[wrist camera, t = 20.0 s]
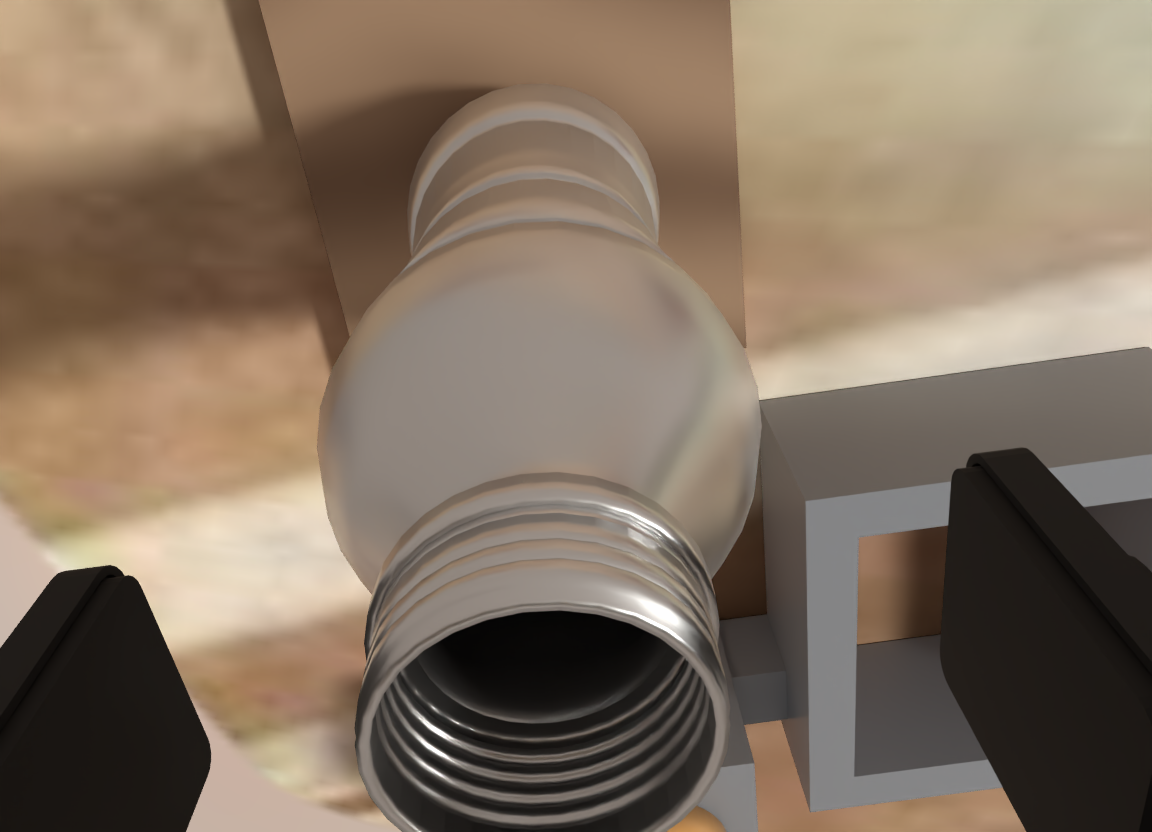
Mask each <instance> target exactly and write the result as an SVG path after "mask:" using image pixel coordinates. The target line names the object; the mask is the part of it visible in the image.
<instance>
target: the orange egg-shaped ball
mask: <svg viewBox="0 0 1152 832" xmlns="http://www.w3.org/2000/svg"><path fill="white" fill-rule="evenodd" d="M666 832H726V829H725V828H724V826H723V825H722V823H721V822H720V821H719V820H718V819H717V818H716V817H715V816H714V815H713V814H711V813H710V812H708V811H707V810H705V809H703V808H701V807H698V806H696V807H695V808H694V809H693V810H692V811H691V812H690V813H689V814H688V815H687V816H686V817H685V818H684V819H683V820H682V821H681V822H679V823H678V824H676V825H675V826H673V827H672V828H671V829H669V830H668V831H666Z"/></svg>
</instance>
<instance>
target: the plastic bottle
mask: <svg viewBox="0 0 1152 832" xmlns="http://www.w3.org/2000/svg"><path fill="white" fill-rule="evenodd" d="M659 216H660V213H659V195H658V189H657V182H656V176H655V173H654V170H653V167H652V165H651V162H650V159H649V156H648V154H647V152H646V150H645V148H644V147H643V145H642V143H641V142H640V140H639V139H638V137H637V135H636V134H635V132H634V131H633V130H632V128H631V127H630V126H629V125H628V124H627V123H626V122H625V121H624V120H623V119H622V118H621V117H620V116H619V115H618V114H617V113H616V112H615V111H613V110H612V109H611V108H609V107H608V106H606V105H605V104H603V103H602V102H600V101H599V100H597V99H596V98H594V97H592V96H589V95H587V94H584V93H582V92H579V91H577V90H574V89H572V88H568V87H562V86H557V85H551V84H545V83H543V84H518V85H514V86H510V87H506V88H502V89H498V90H494V91H491V92H489V93H487V94H485V95H483V96H481V97H479V98H477V99H475V100H473V101H471V102H469V103H468V104H466V105H465V106H464V107H462V108H461V109H460V110H459V111H457V112H456V113H455V114H453V115H452V116H451V117H450V118H448V119H447V120H446V122H445V123H444V124H443V125H442V126H441V127H440V129H439V130H438V131H437V132H436V133H435V134H434V136H433V137H432V138H431V139H430V141H429V143H428V144H427V146H426V148H425V150H424V152H423V153H422V155H421V157H420V159H419V161H418V163H417V166H416V169H415V172H414V175H413V179H412V182H411V185H410V191H409V200H408V209H407V218H408V234H409V246H410V253H411V256H412V257H411V259H410V261H409V262H408V264H407V266H406V267H405V268H404V269H403V270H402V272H401V273H400V274H399V275H398V276H397V277H396V278H394V280H393V281H392V282H391V283H390V284H389V285H388V286H387V287H386V288H385V290H384V291H383V292H382V293H381V294H380V295H379V296H378V297H377V298H376V300H375V301H374V302H373V303H372V304H371V305H370V306H369V307H368V308H367V310H366V311H365V313H364V315H363V317H362V318H361V320H360V322H359V323H358V325H357V326H356V328H355V329H354V331H353V333H352V334H351V336H350V338H349V340H348V341H347V343H346V345H345V347H344V348H343V350H342V352H341V354H340V355H339V357H338V359H337V361H336V362H335V364H334V366H333V368H332V370H331V373H330V377H329V380H328V383H327V386H326V390H325V393H324V396H323V399H322V402H321V406H320V413H319V426H318V439H317V451H318V458H319V465H320V471H321V478H322V485H323V491H324V497H325V503H326V509H327V515H328V519H329V521H330V524H331V526H332V529H333V531H334V534H335V537H336V539H337V542H338V544H339V547H340V549H341V552H342V553H343V555H344V556H345V558H346V559H347V561H348V562H349V564H350V565H351V567H352V568H353V570H354V571H355V573H356V574H357V576H358V577H359V579H360V580H361V582H362V583H363V584H364V585H365V587H366V588H367V589H368V590H369V592H370V593H371V594H372V597H371V602H370V606H369V611H368V615H367V623H366V631H365V640H364V645H365V653H366V660H367V664H366V668H365V672H364V677H363V682H362V686H361V690H360V694H359V698H358V705H357V713H356V722H355V733H356V741H355V749H356V756H357V762H358V769H359V773H360V775H361V778H362V780H363V782H364V784H365V787H366V789H367V791H368V794H369V796H370V797H371V799H372V800H373V801H374V803H375V804H376V805H377V807H378V808H379V809H380V810H381V812H382V813H383V814H384V816H385V817H386V818H387V819H388V820H389V821H390V822H391V823H393V824H394V825H395V826H396V827H397V828H398V829H400V830H401V831H402V832H666V831H668V830H669V829H671V828H672V827H673V826H675V825H676V824H678V823H679V822H681V821H682V820H683V819H684V818H685V817H686V816H687V815H688V814H689V813H690V812H691V811H692V810H693V809H694V808H695V807H696V806H697V805H698V804H699V803H700V802H701V801H702V799H703V798H704V796H705V795H706V793H707V792H708V790H709V789H710V787H711V786H712V784H713V783H714V781H715V780H716V778H717V777H718V774H719V771H720V769H721V766H722V764H723V761H724V758H725V756H726V753H727V749H728V740H729V732H730V719H729V714H730V702H729V696H728V689H727V683H726V678H725V674H724V670H723V666H722V662H721V658H720V654H719V650H718V637H719V627H720V622H719V615H718V609H717V602H716V596H715V592H714V588H713V584H712V580H711V579H712V578H713V577H714V575H715V574H716V572H717V571H718V570H719V568H720V567H721V566H722V564H723V563H724V561H725V559H726V558H727V556H728V554H729V553H730V551H731V549H732V547H733V546H734V544H735V542H736V541H737V539H738V537H739V536H740V534H741V532H742V530H743V527H744V524H745V521H746V518H747V515H748V512H749V510H750V507H751V504H752V501H753V498H754V492H755V483H756V475H757V466H758V457H759V448H760V438H761V428H762V423H761V414H760V405H759V395H758V387H757V384H756V381H755V378H754V375H753V372H752V370H751V367H750V364H749V361H748V358H747V355H746V352H745V349H744V348H743V346H742V345H741V343H740V341H739V340H738V338H737V337H736V335H735V334H734V332H733V330H732V329H731V327H730V326H729V324H728V322H727V321H726V319H725V318H724V316H723V315H722V313H721V312H720V311H719V309H718V308H717V307H716V306H715V304H714V303H713V301H712V300H711V298H710V297H709V295H708V294H707V293H706V292H705V291H704V290H703V289H702V288H701V287H700V286H699V285H698V284H697V283H696V282H695V281H694V280H693V279H692V278H691V277H690V276H689V275H688V274H687V273H686V272H685V271H684V270H683V269H682V268H681V267H680V266H679V265H677V264H676V263H675V262H674V261H673V260H672V259H671V258H670V257H669V256H668V255H666V254H665V253H664V252H663V251H662V250H661V248H660V247H659V245H658V237H659Z"/></svg>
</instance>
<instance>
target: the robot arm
mask: <svg viewBox="0 0 1152 832" xmlns="http://www.w3.org/2000/svg"><path fill="white" fill-rule="evenodd" d="M940 660H941V666H942V670H943V674H944V677H945V679H946V682H947V684H948V686H949V688H950V690H951V692H952V694H953V695H954V697H955V699H956V701H957V703H958V705H959V707H960V708H961V710H962V712H963V714H964V716H965V718H966V720H967V722H968V723H969V725H970V727H971V729H972V731H973V733H974V735H975V736H976V738H977V740H978V742H979V744H980V746H981V748H982V750H983V751H984V753H985V755H986V757H987V759H988V761H989V763H990V765H991V766H992V768H993V770H994V772H995V774H996V776H997V778H998V779H999V781H1000V783H1001V785H1002V787H1003V789H1004V791H1005V793H1006V794H1007V796H1008V798H1009V800H1010V802H1011V804H1012V806H1013V807H1014V809H1015V811H1016V813H1017V815H1018V817H1019V819H1020V821H1021V822H1022V824H1023V826H1024V828H1025V830H1026V832H1152V572H1151V571H1150V570H1149V569H1148V567H1147V566H1145V565H1144V564H1143V563H1142V562H1141V561H1139V560H1138V559H1137V558H1136V557H1133V556H1130V555H1128V554H1127V553H1126V552H1125V551H1124V550H1123V549H1122V548H1121V547H1120V546H1119V544H1118V543H1117V542H1116V541H1115V540H1114V539H1113V538H1112V537H1111V536H1110V535H1109V534H1108V533H1107V532H1106V531H1105V529H1104V528H1103V527H1102V526H1101V525H1100V524H1099V523H1098V522H1097V521H1096V520H1095V519H1094V518H1093V517H1092V516H1091V514H1090V513H1089V512H1088V511H1087V510H1086V509H1085V508H1084V507H1083V506H1082V505H1081V504H1080V503H1079V502H1078V500H1077V499H1076V498H1075V497H1074V496H1073V495H1072V494H1071V493H1070V492H1069V491H1068V490H1067V489H1066V488H1065V487H1064V485H1063V484H1062V483H1061V482H1060V481H1059V480H1058V479H1057V478H1056V477H1055V476H1054V475H1053V474H1052V473H1051V472H1050V470H1049V469H1048V468H1047V467H1046V466H1045V465H1044V464H1043V463H1042V462H1041V461H1040V460H1039V459H1038V458H1037V456H1036V455H1035V454H1034V453H1033V452H1032V451H1030V450H1029V449H1028V448H1023V447H1021V448H1013V449H1005V450H997V451H990V452H982V453H974V454H972V455H971V456H970V457H969V459H968V461H967V464H966V468H959V469H956V470H955V471H954V472H953V474H952V479H951V490H950V505H949V519H948V534H947V549H946V564H945V579H944V594H943V609H942V623H941V638H940ZM210 763H211V749H210V743H209V740H208V737H207V735H206V733H205V731H204V728H203V726H202V724H201V722H200V719H199V717H198V715H197V712H196V710H195V708H194V706H193V703H192V701H191V699H190V697H189V694H188V692H187V690H186V688H185V685H184V683H183V681H182V679H181V676H180V674H179V672H178V669H177V667H176V665H175V663H174V660H173V658H172V656H171V654H170V651H169V649H168V647H167V645H166V642H165V640H164V638H163V635H162V633H161V631H160V629H159V626H158V624H157V622H156V620H155V617H154V615H153V613H152V611H151V608H150V606H149V604H148V601H147V599H146V597H145V595H144V592H143V590H142V588H141V586H140V584H139V582H138V581H137V580H136V579H135V578H134V577H133V576H129V575H128V576H124V574H123V573H122V571H121V570H119V569H118V568H117V567H115V566H111V565H108V566H100V567H92V568H85V569H77V570H69V571H63V572H60V573H58V574H57V575H56V576H55V577H54V578H53V579H52V580H51V581H50V582H49V584H48V585H47V586H46V588H45V589H44V590H43V592H42V593H41V594H40V596H39V597H38V598H37V600H36V601H35V603H34V604H33V605H32V607H31V608H30V609H29V611H28V612H27V613H26V615H25V616H24V617H23V619H22V620H21V621H20V623H19V624H18V625H17V627H16V628H15V629H14V631H13V632H12V633H11V635H10V636H9V637H8V639H7V640H6V641H5V643H4V644H3V645H2V647H1V648H0V832H186V830H187V827H188V825H189V822H190V820H191V817H192V815H193V812H194V809H195V807H196V804H197V802H198V799H199V797H200V794H201V792H202V789H203V786H204V784H205V781H206V779H207V776H208V773H209V770H210Z"/></svg>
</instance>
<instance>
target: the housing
mask: <svg viewBox="0 0 1152 832" xmlns="http://www.w3.org/2000/svg"><path fill="white" fill-rule="evenodd" d="M759 405H760V414H761V423H762V428H761V438H760V456H761V480H762V504H763V528H764V552H765V576H766V600H767V614H766V615H758V616H751V617H743V618H736V619H728V620H721V621H719V622H720V627H719V637H718V650H719V654H720V658H721V662H722V666H723V670H724V674H725V678H726V683H727V689H728V696H729V702H730V714H729V719H730V732H729V740H728V749H727V753H726V756H725V758H724V761H723V764H722V766H721V769H720V771H719V774H718V777H717V778H716V780H715V781H714V783H713V784H712V786H711V787H710V789H709V790H708V792H707V793H706V795H705V796H704V798H703V799H702V801H701V802H700V803H699V804H698V805H697V806H698V807H701V808H703V809H705V810H707V811H708V812H710V813H711V814H713V815H714V816H715V817H716V818H717V819H718V820H719V821H720V822H721V823H722V825H723V826H724V828H725V829H726V832H758V821H757V803H756V785H755V767H754V760H753V757H752V753H751V749H750V745H749V742H748V738H747V734H746V730H745V727H744V725H746V724H754V723H761V722H769V721H776V720H781V721H782V724H783V728H784V731H785V734H786V737H787V740H788V743H789V747H790V750H791V753H792V756H793V759H794V762H795V766H796V769H797V772H798V775H799V778H800V781H801V785H802V788H803V791H804V794H805V797H806V800H807V804H808V807H809V810H810V812H816V811H824V810H832V809H840V808H847V807H855V806H863V805H871V804H878V803H886V802H894V801H902V800H909V799H917V798H925V797H933V796H940V795H948V794H956V793H964V792H971V791H979V790H987V789H995V788H1002V785H1001V783H1000V781H999V779H998V778H997V776H996V774H995V772H994V770H993V768H992V766H991V765H990V763H989V761H988V759H987V757H986V755H985V753H984V751H983V750H982V748H981V746H980V744H979V742H978V740H977V738H976V736H975V735H974V733H973V731H972V729H971V727H970V725H969V723H968V722H967V720H966V718H965V716H964V714H963V712H962V710H961V708H960V707H959V705H958V703H957V701H956V699H955V697H954V695H953V694H952V692H951V690H950V688H949V686H948V684H947V682H946V679H945V677H944V674H943V670H942V666H941V660H940V638H941V634H940V635H933V636H925V637H917V638H910V639H902V640H895V641H887V642H880V643H872V644H865V645H857V599H858V545H859V537H866V536H873V535H881V534H888V533H895V532H903V531H910V530H918V529H925V528H933V527H940V526H947V525H948V519H949V505H950V490H951V479H952V474H953V472H954V471H955V470H956V469H959V468H966V464H967V461H968V459H969V457H970V456H971V455H972V454H974V453H982V452H990V451H997V450H1005V449H1013V448H1021V447H1023V448H1028V449H1029V450H1030V451H1032V452H1033V453H1034V454H1035V455H1036V456H1037V458H1038V459H1039V460H1040V461H1041V462H1042V463H1043V464H1044V465H1045V466H1046V467H1047V468H1048V469H1049V470H1050V472H1051V473H1052V474H1053V475H1054V476H1055V477H1056V478H1057V479H1058V480H1059V481H1060V482H1061V483H1062V484H1063V485H1064V487H1065V488H1066V489H1067V490H1068V491H1069V492H1070V493H1071V494H1072V495H1073V496H1074V497H1075V498H1076V499H1077V500H1078V502H1079V503H1080V504H1081V505H1082V506H1083V507H1084V508H1085V509H1086V510H1087V511H1088V512H1089V513H1090V514H1091V516H1092V517H1093V518H1094V519H1095V520H1096V521H1097V522H1098V523H1099V524H1100V525H1101V526H1102V527H1103V528H1104V529H1105V531H1106V532H1107V533H1108V534H1109V535H1110V536H1111V537H1112V538H1113V539H1114V540H1115V541H1116V542H1117V543H1118V544H1119V546H1120V547H1121V548H1122V549H1123V550H1124V551H1125V552H1126V553H1127V554H1128V555H1130V556H1133V557H1136V558H1137V559H1138V560H1139V561H1141V562H1142V563H1143V564H1144V565H1145V566H1147V567H1148V569H1149V570H1150V571H1151V572H1152V349H1151V348H1149V347H1146V348H1138V349H1131V350H1124V351H1117V352H1109V353H1102V354H1095V355H1088V356H1081V357H1073V358H1066V359H1059V360H1052V361H1044V362H1037V363H1030V364H1023V365H1015V366H1008V367H1001V368H994V369H987V370H979V371H972V372H965V373H958V374H950V375H943V376H936V377H929V378H921V379H914V380H907V381H900V382H893V383H885V384H878V385H871V386H864V387H856V388H849V389H842V390H835V391H828V392H820V393H813V394H806V395H799V396H791V397H784V398H777V399H770V400H762V401H759Z"/></svg>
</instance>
